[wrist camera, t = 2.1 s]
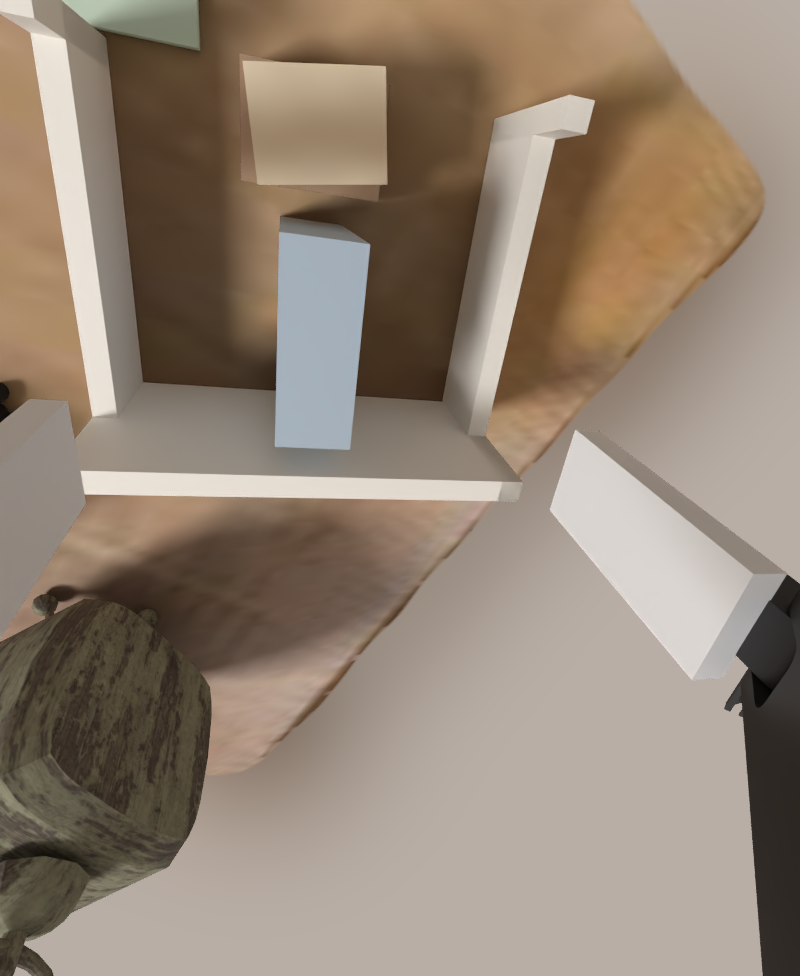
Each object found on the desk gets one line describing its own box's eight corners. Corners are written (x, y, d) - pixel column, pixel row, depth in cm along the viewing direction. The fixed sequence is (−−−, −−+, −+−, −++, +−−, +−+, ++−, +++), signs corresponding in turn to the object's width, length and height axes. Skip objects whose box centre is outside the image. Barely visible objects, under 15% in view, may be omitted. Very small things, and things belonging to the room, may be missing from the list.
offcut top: (246, 74, 24) (242, 60, 21) (375, 78, 25) (385, 65, 22) (259, 184, 26) (257, 184, 23) (377, 184, 27) (387, 184, 24)
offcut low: (244, 68, 26) (239, 53, 23) (378, 96, 28) (390, 85, 25) (245, 181, 29) (240, 180, 26) (368, 200, 30) (378, 202, 27)
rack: (77, 32, 24) (-70, -81, 14) (514, 122, 29) (636, 89, 19) (124, 398, 33) (54, 493, 23) (454, 417, 38) (517, 501, 28)
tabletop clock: (9, 590, 38) (-329, 1093, 17) (113, 536, 38) (-102, 985, 16) (141, 693, 46) (22, 1127, 25) (229, 649, 45) (184, 1054, 24)
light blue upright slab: (280, 216, 30) (279, 231, 19) (340, 224, 30) (370, 244, 20) (276, 368, 34) (274, 446, 24) (330, 372, 35) (349, 449, 25)
